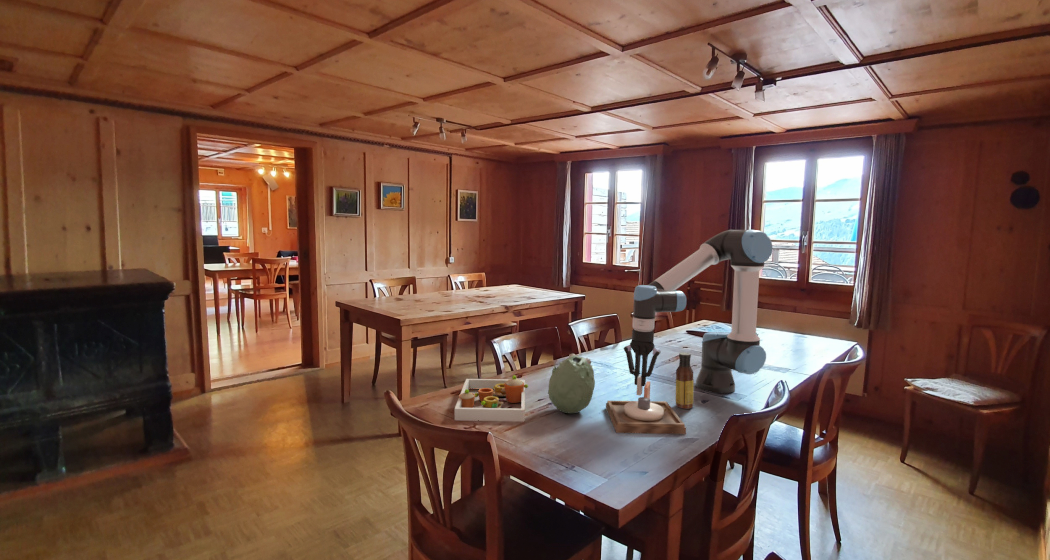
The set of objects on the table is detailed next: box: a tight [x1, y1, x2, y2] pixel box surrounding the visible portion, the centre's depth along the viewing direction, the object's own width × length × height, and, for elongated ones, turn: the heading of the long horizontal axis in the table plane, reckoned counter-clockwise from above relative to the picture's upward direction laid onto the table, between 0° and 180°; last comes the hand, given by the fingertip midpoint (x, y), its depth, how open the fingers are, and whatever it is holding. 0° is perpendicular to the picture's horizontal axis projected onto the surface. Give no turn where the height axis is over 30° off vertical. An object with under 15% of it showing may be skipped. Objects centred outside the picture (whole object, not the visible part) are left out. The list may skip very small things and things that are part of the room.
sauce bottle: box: [675, 352, 695, 410], centre depth 186 cm, size 7×6×20 cm
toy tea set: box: [458, 375, 529, 408], centre depth 186 cm, size 26×16×10 cm, turn 138°
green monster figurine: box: [547, 353, 596, 414], centre depth 179 cm, size 16×19×20 cm
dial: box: [624, 380, 664, 421], centre depth 174 cm, size 18×13×8 cm
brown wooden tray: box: [605, 400, 687, 435], centre depth 173 cm, size 22×22×3 cm
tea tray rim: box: [454, 378, 526, 422], centre depth 187 cm, size 23×33×4 cm
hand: (639, 394), depth 182 cm, fingers closed
